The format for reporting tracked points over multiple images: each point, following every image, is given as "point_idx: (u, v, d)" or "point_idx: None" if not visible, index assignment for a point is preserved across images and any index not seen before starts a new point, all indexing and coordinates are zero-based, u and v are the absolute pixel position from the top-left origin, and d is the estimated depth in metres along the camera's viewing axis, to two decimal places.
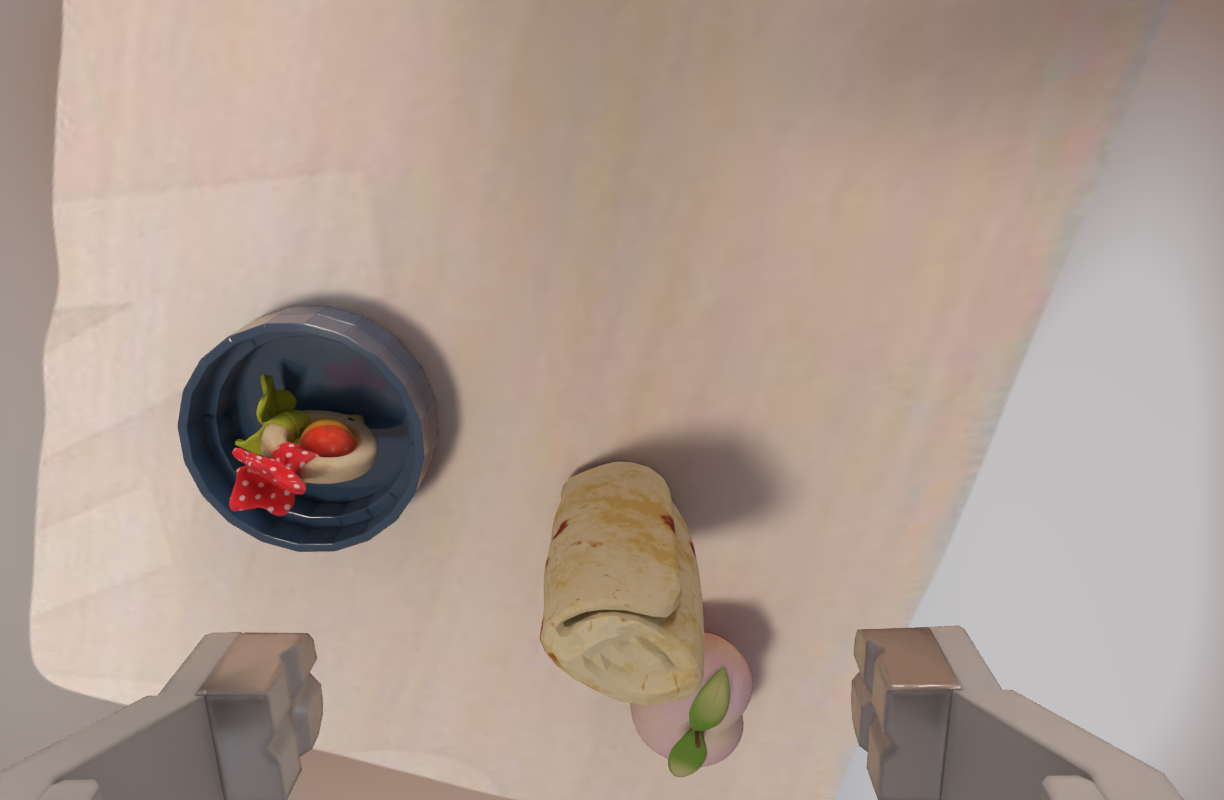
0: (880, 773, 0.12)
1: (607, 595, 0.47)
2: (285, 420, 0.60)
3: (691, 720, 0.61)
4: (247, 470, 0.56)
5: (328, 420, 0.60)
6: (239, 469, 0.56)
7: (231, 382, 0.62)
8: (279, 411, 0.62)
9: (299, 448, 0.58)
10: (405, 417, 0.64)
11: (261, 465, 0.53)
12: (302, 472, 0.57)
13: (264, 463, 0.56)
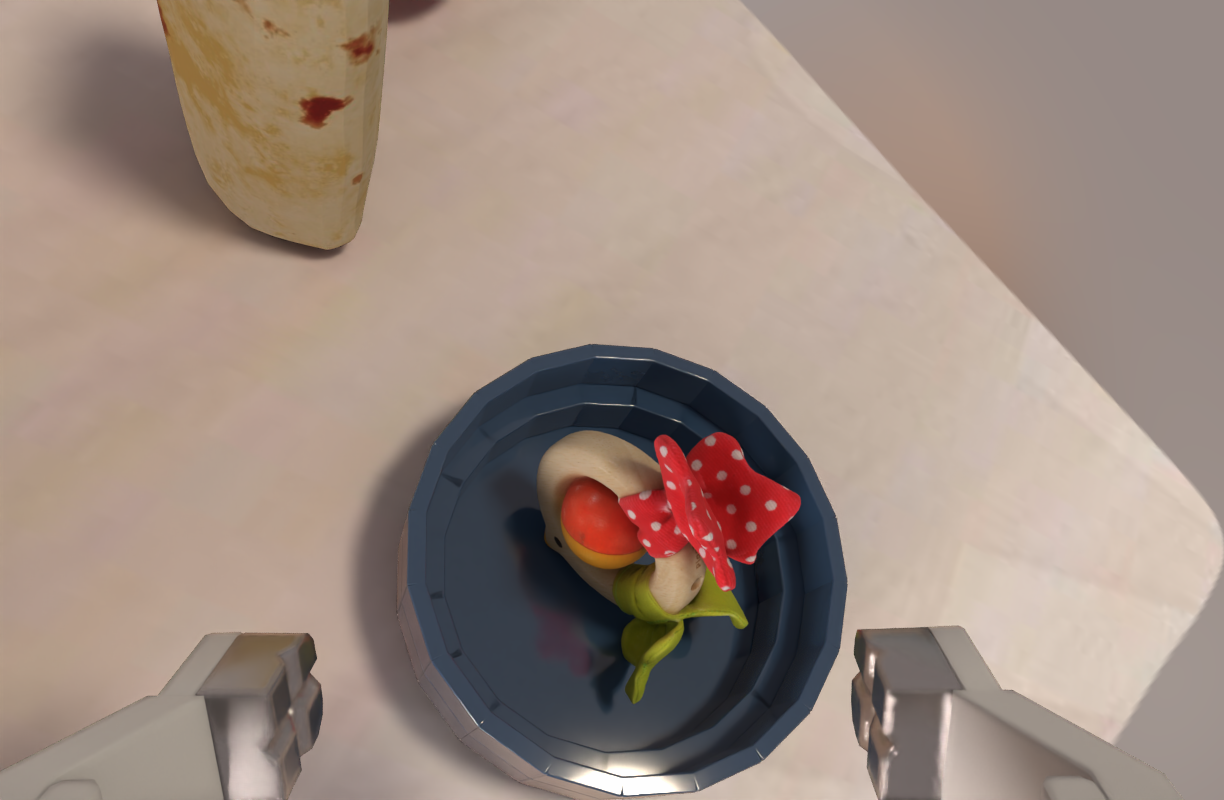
0: (880, 772, 0.12)
1: None
2: (643, 600, 0.32)
3: None
4: (735, 546, 0.29)
5: (577, 553, 0.32)
6: (748, 558, 0.29)
7: (697, 729, 0.34)
8: (653, 629, 0.34)
9: (639, 531, 0.30)
10: (486, 494, 0.36)
11: (690, 517, 0.26)
12: (655, 483, 0.30)
13: None
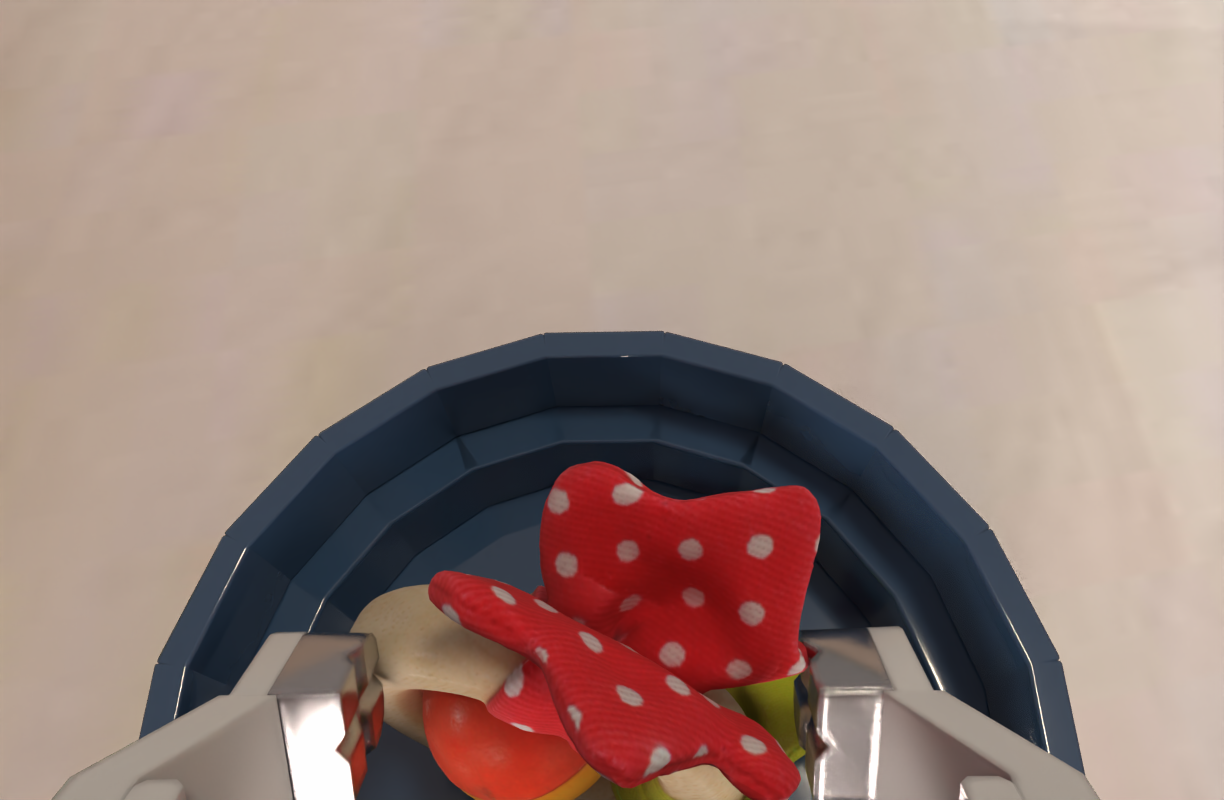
0: (814, 773, 0.12)
1: None
2: None
3: None
4: (750, 667, 0.12)
5: None
6: (790, 670, 0.12)
7: None
8: None
9: None
10: None
11: (581, 754, 0.10)
12: None
13: None
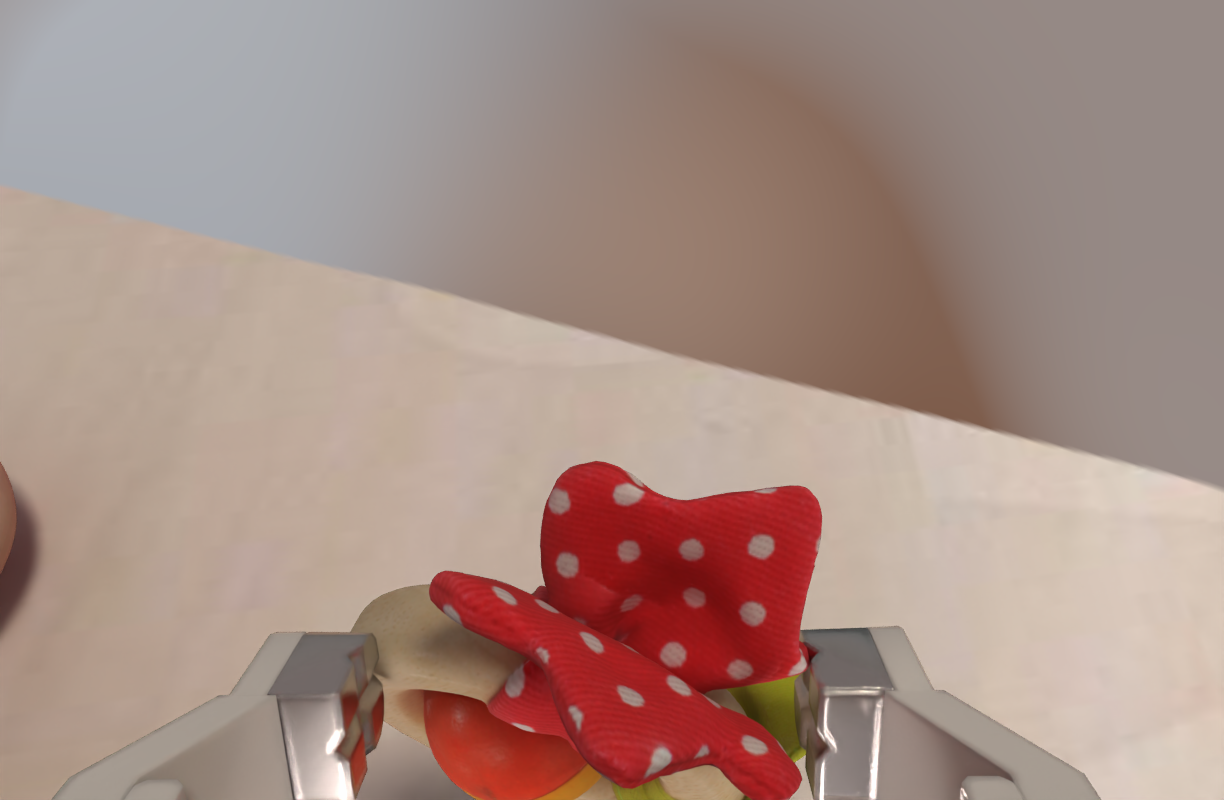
0: (815, 773, 0.12)
1: None
2: None
3: None
4: (751, 668, 0.12)
5: None
6: (791, 670, 0.12)
7: None
8: None
9: None
10: None
11: (583, 753, 0.10)
12: None
13: None
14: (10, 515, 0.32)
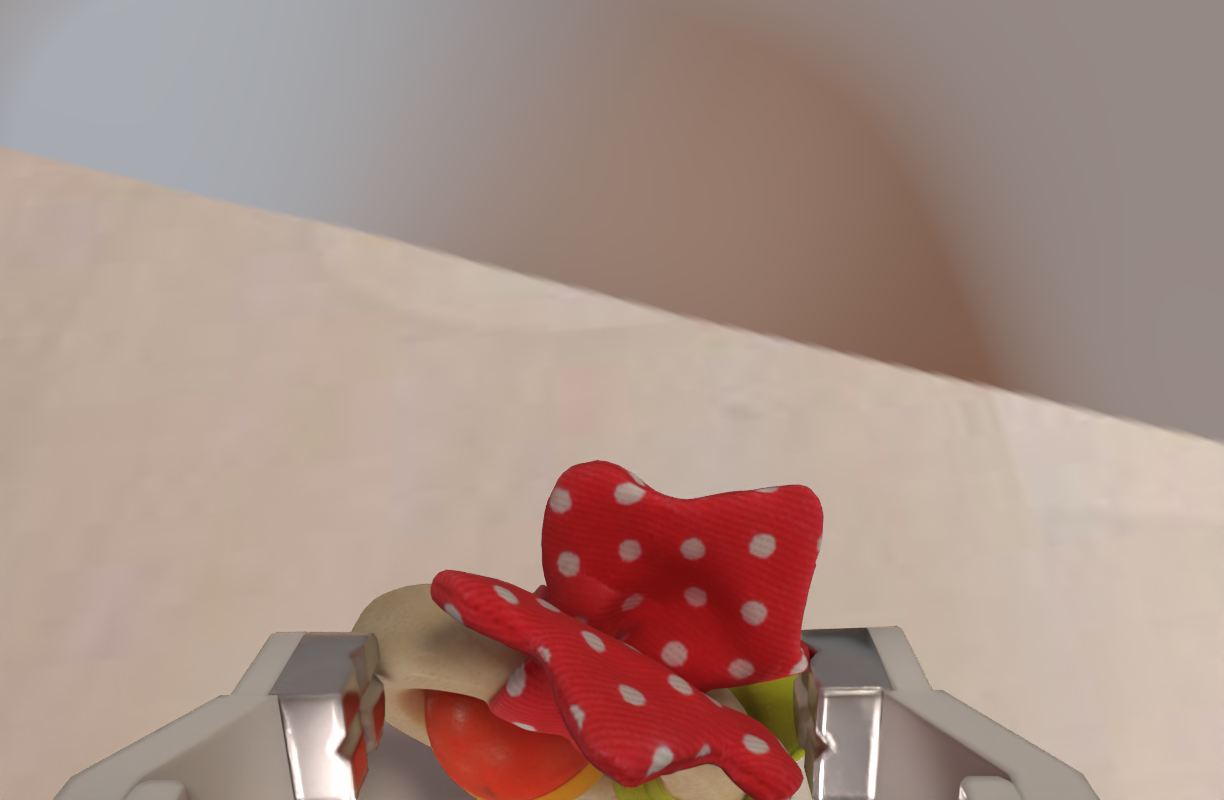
0: (814, 773, 0.12)
1: None
2: None
3: None
4: (752, 667, 0.12)
5: None
6: (792, 670, 0.12)
7: None
8: None
9: None
10: None
11: (584, 753, 0.10)
12: None
13: None
14: None
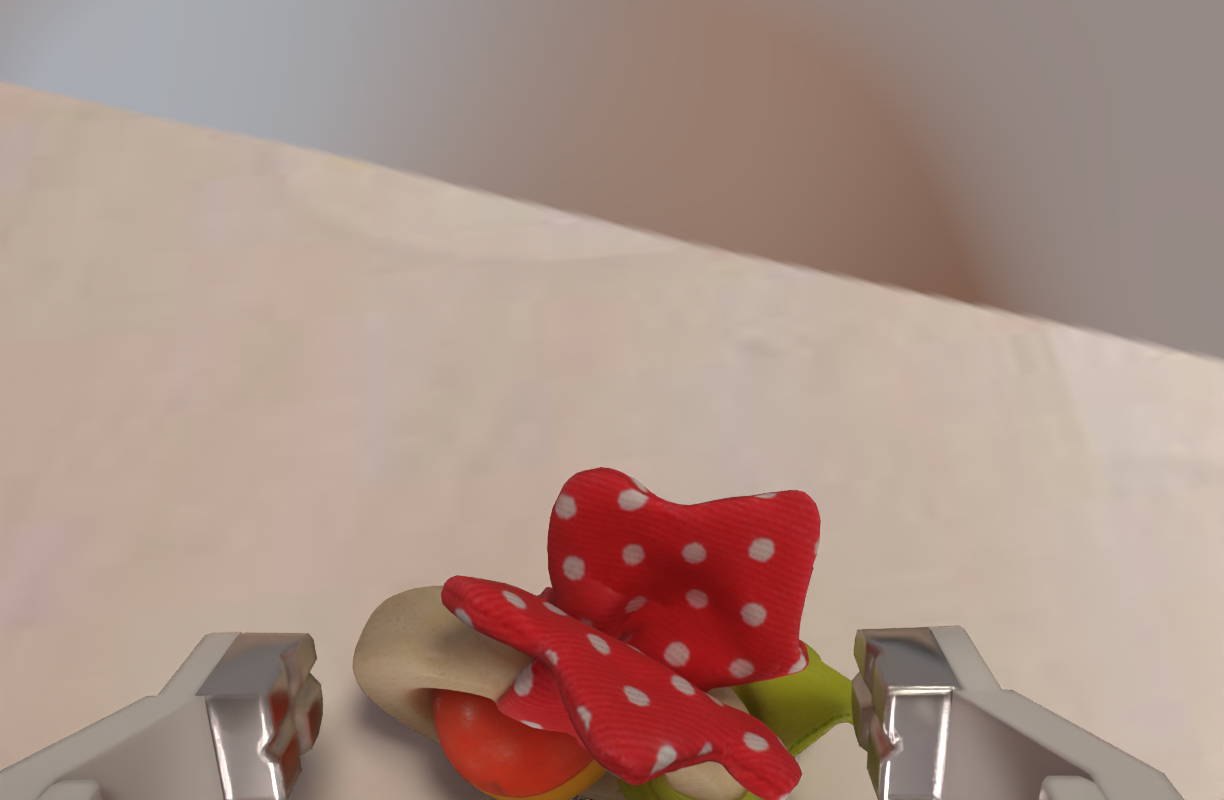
0: (880, 773, 0.12)
1: None
2: None
3: None
4: (752, 666, 0.13)
5: None
6: (791, 669, 0.13)
7: None
8: None
9: None
10: None
11: (591, 752, 0.10)
12: None
13: None
14: None
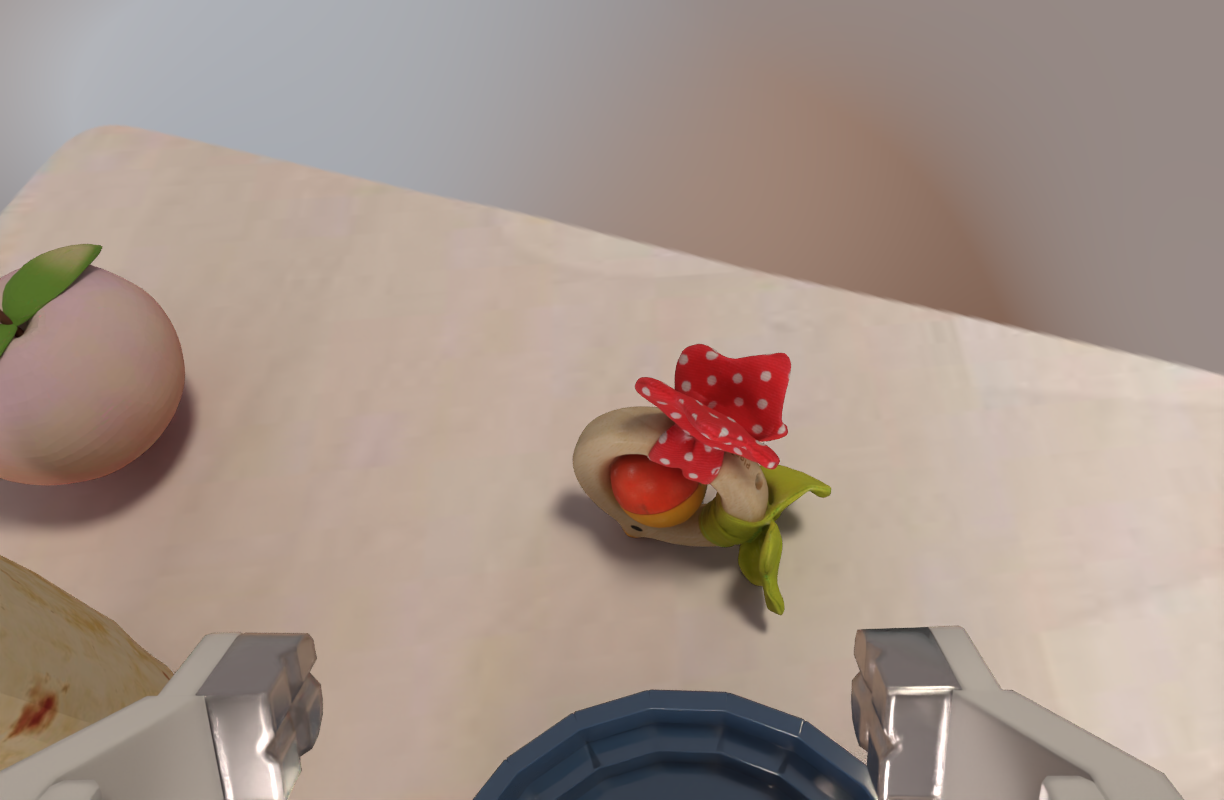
0: (880, 773, 0.12)
1: None
2: (729, 525, 0.33)
3: (0, 343, 0.33)
4: (761, 428, 0.30)
5: (651, 524, 0.33)
6: (779, 431, 0.30)
7: None
8: None
9: (682, 471, 0.32)
10: None
11: (697, 426, 0.27)
12: (666, 424, 0.31)
13: None
14: (182, 370, 0.38)
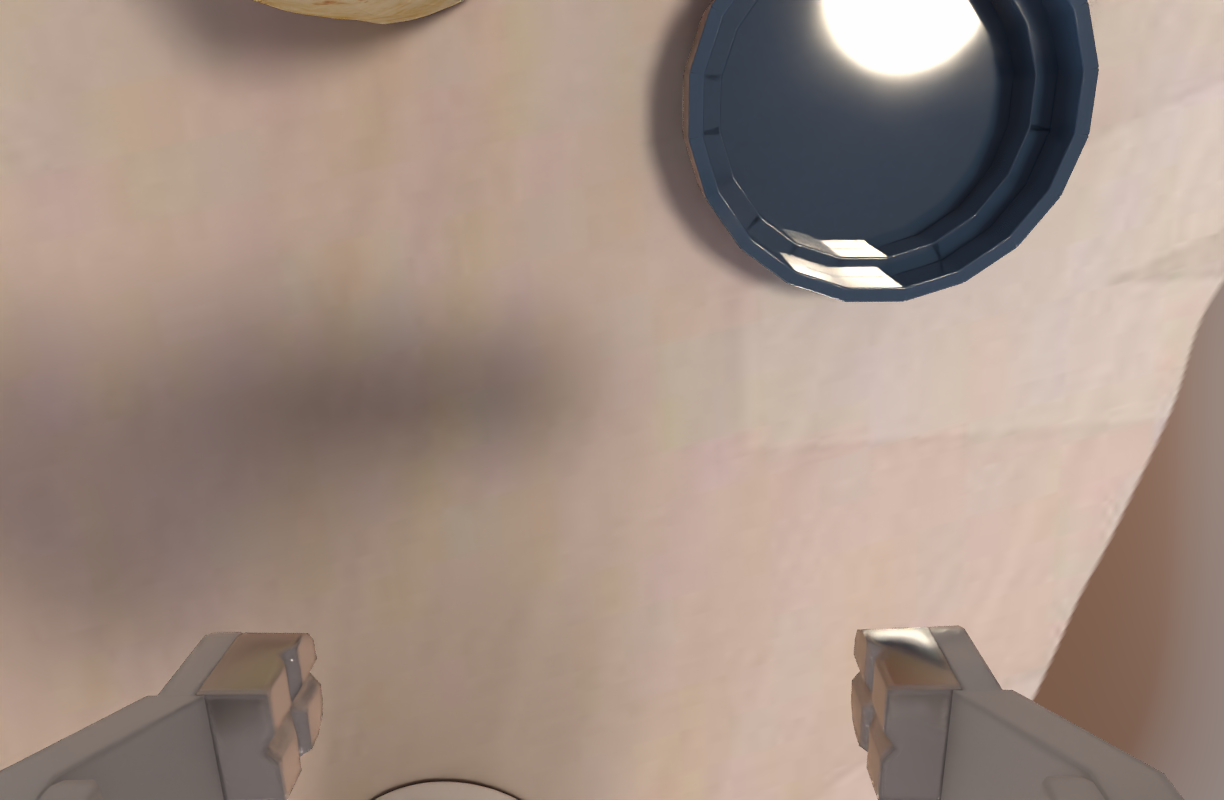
0: (880, 773, 0.12)
1: None
2: None
3: None
4: None
5: None
6: None
7: (993, 168, 0.41)
8: None
9: None
10: (733, 102, 0.40)
11: None
12: None
13: None
14: None
